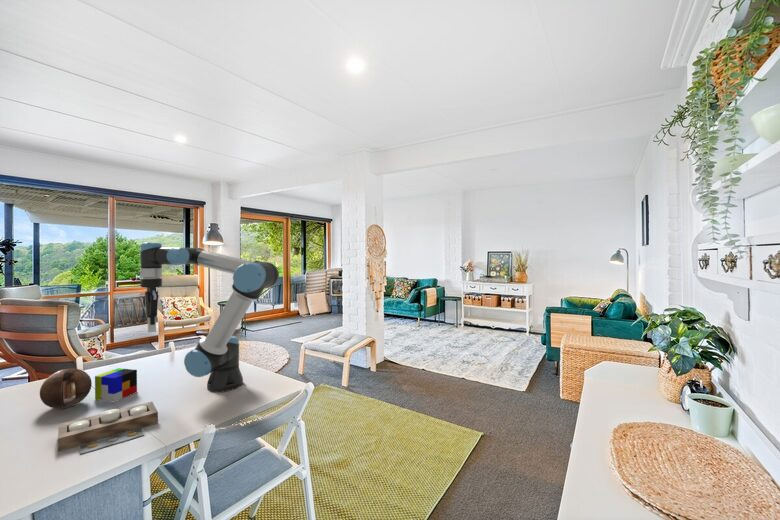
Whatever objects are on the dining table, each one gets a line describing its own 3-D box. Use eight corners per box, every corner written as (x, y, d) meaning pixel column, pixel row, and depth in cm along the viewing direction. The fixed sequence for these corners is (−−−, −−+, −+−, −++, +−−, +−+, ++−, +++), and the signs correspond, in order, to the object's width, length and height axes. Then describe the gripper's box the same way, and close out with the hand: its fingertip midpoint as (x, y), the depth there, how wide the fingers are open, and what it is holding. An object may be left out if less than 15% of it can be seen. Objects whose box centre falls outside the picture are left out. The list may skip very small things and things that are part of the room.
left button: (89, 428, 116) (89, 418, 116) (89, 434, 113) (89, 424, 112) (69, 434, 113) (68, 423, 113) (69, 440, 109) (68, 429, 109)
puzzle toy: (114, 401, 140) (114, 378, 140) (95, 399, 142) (94, 376, 142) (137, 392, 150) (136, 369, 149) (118, 390, 152) (118, 368, 151)
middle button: (118, 417, 122) (118, 407, 122) (120, 422, 118) (120, 412, 118) (100, 421, 118) (100, 412, 118) (101, 427, 115) (101, 417, 115)
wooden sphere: (48, 403, 138) (48, 367, 138) (96, 395, 145) (95, 361, 145) (32, 419, 125) (32, 379, 125) (85, 410, 132) (85, 372, 132)
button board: (152, 411, 131) (152, 401, 131) (161, 430, 118) (161, 419, 118) (58, 436, 114) (58, 424, 114) (57, 461, 100) (56, 448, 100)
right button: (145, 413, 127) (145, 404, 127) (148, 418, 124) (147, 409, 123) (129, 418, 124) (129, 408, 124) (130, 423, 120) (130, 413, 120)
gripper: (137, 277, 149) (138, 330, 149) (144, 279, 140) (144, 335, 140) (158, 276, 154) (158, 328, 154) (165, 278, 145) (165, 332, 145)
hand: (151, 331), depth 147 cm, fingers closed
